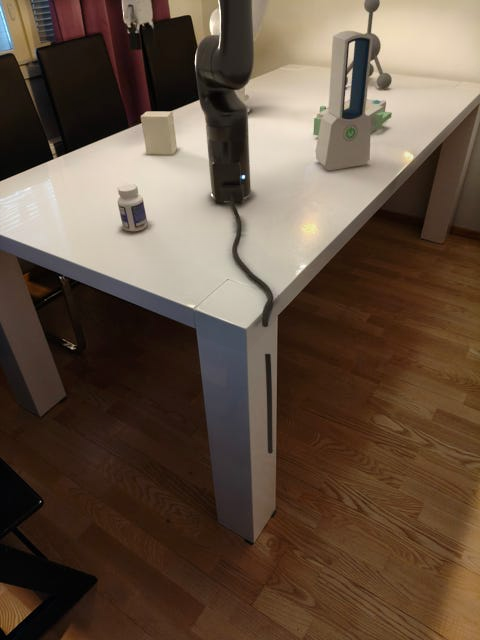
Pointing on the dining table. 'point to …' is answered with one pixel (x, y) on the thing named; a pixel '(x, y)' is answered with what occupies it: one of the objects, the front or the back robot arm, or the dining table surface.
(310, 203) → the dining table surface
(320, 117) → the decorative block
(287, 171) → the dining table surface
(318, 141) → the electronic device
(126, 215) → the pill bottle
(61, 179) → the dining table surface
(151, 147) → the brick
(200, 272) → the dining table surface
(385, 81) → the molecular model
